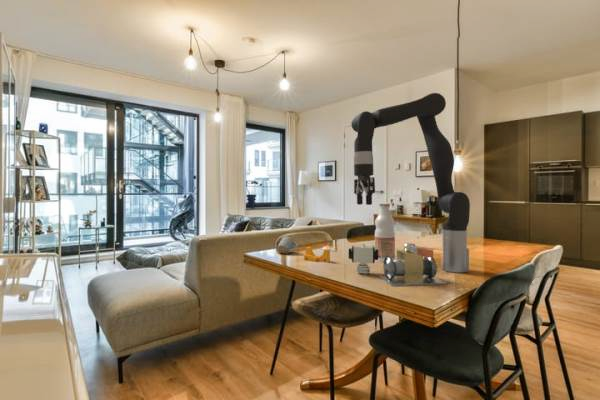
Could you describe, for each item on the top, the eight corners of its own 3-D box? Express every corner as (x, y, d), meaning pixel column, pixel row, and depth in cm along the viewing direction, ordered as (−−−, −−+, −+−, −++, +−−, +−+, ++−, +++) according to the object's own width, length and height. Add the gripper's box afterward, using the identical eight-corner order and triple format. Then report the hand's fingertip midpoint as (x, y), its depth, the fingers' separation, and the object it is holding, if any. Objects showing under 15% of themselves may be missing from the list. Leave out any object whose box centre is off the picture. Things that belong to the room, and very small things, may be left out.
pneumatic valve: (378, 275, 125) (378, 245, 125) (348, 273, 128) (348, 244, 128) (377, 272, 131) (377, 243, 131) (349, 270, 133) (349, 242, 133)
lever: (412, 249, 121) (412, 243, 121) (435, 257, 104) (435, 249, 104) (402, 249, 120) (402, 243, 120) (424, 257, 104) (424, 250, 104)
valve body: (427, 275, 125) (427, 248, 125) (446, 284, 112) (446, 253, 112) (378, 277, 122) (379, 249, 122) (392, 286, 110) (392, 255, 109)
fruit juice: (370, 261, 154) (370, 203, 154) (383, 259, 159) (383, 203, 159) (385, 264, 146) (386, 204, 146) (398, 262, 152) (398, 204, 152)
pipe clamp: (303, 261, 154) (303, 248, 154) (308, 260, 157) (308, 247, 157) (325, 264, 147) (325, 250, 147) (330, 262, 151) (330, 249, 151)
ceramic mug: (281, 257, 171) (273, 247, 170) (288, 248, 177) (280, 237, 176) (294, 253, 164) (285, 242, 163) (301, 243, 170) (293, 232, 169)
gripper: (380, 161, 119) (381, 204, 119) (364, 165, 133) (365, 204, 133) (362, 161, 117) (363, 205, 117) (347, 165, 131) (348, 204, 131)
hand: (364, 204), depth 125 cm, fingers open, 8 cm apart
